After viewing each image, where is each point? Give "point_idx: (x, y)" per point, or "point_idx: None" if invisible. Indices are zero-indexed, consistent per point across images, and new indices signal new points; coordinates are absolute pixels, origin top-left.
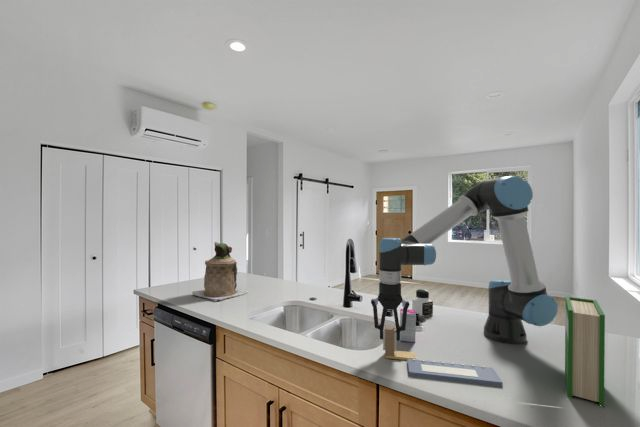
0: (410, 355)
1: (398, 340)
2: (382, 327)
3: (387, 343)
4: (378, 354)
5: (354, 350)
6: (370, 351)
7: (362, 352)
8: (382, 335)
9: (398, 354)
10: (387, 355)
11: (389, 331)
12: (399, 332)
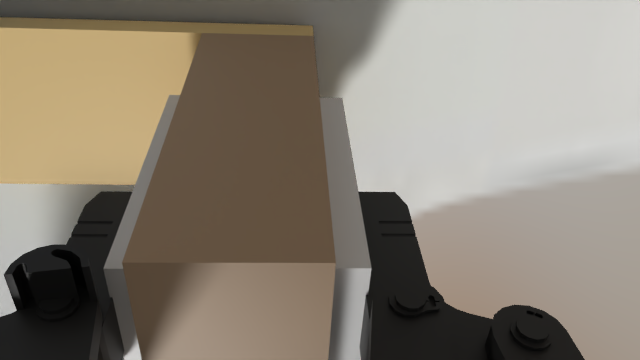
0: (11, 101)
1: (112, 196)
2: (397, 331)
3: (285, 108)
4: (383, 114)
5: (630, 152)
6: (462, 162)
7: (553, 125)
8: (370, 232)
9: (154, 98)
10: (285, 37)
11: (241, 235)
12: (27, 254)
